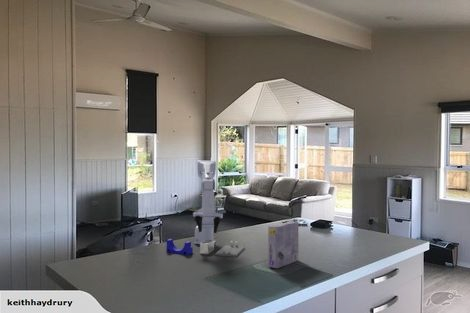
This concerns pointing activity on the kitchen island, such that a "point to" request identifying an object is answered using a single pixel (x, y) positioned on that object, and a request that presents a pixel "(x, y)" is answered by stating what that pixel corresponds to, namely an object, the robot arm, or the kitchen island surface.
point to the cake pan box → (282, 244)
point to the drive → (206, 246)
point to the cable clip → (184, 251)
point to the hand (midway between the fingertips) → (207, 232)
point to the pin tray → (230, 250)
